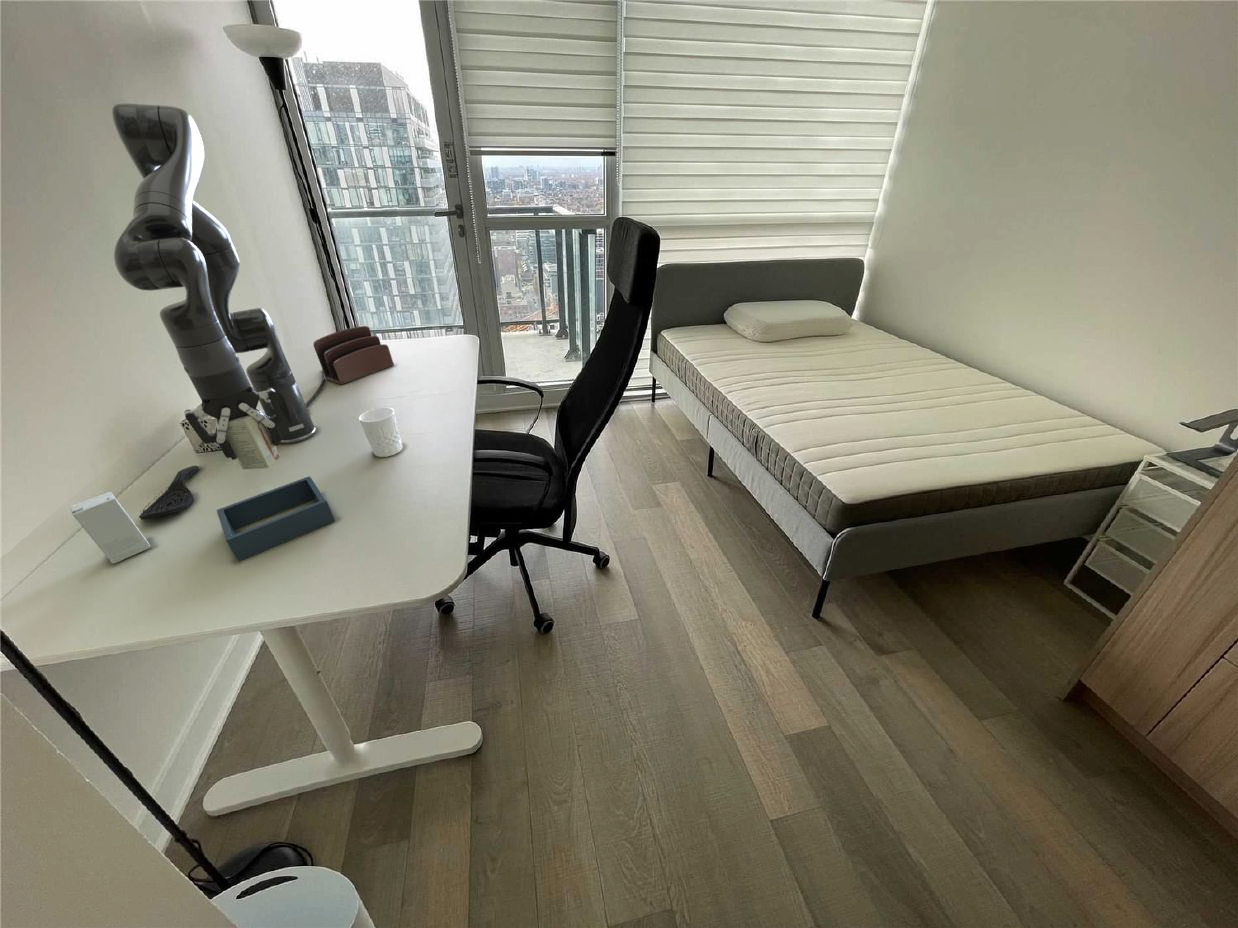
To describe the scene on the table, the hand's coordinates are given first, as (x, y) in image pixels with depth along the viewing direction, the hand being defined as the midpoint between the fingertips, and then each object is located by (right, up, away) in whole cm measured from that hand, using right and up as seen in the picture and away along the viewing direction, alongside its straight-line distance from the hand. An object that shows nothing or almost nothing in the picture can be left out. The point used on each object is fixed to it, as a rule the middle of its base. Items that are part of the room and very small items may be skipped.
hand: (255, 450), depth 95 cm
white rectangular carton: (0, -3, +2) cm, 3 cm away
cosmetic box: (-26, -20, +3) cm, 33 cm away
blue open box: (0, -15, +8) cm, 17 cm away
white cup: (+10, +1, +32) cm, 34 cm away
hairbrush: (-31, -10, +20) cm, 38 cm away
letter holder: (-21, +29, +81) cm, 88 cm away
